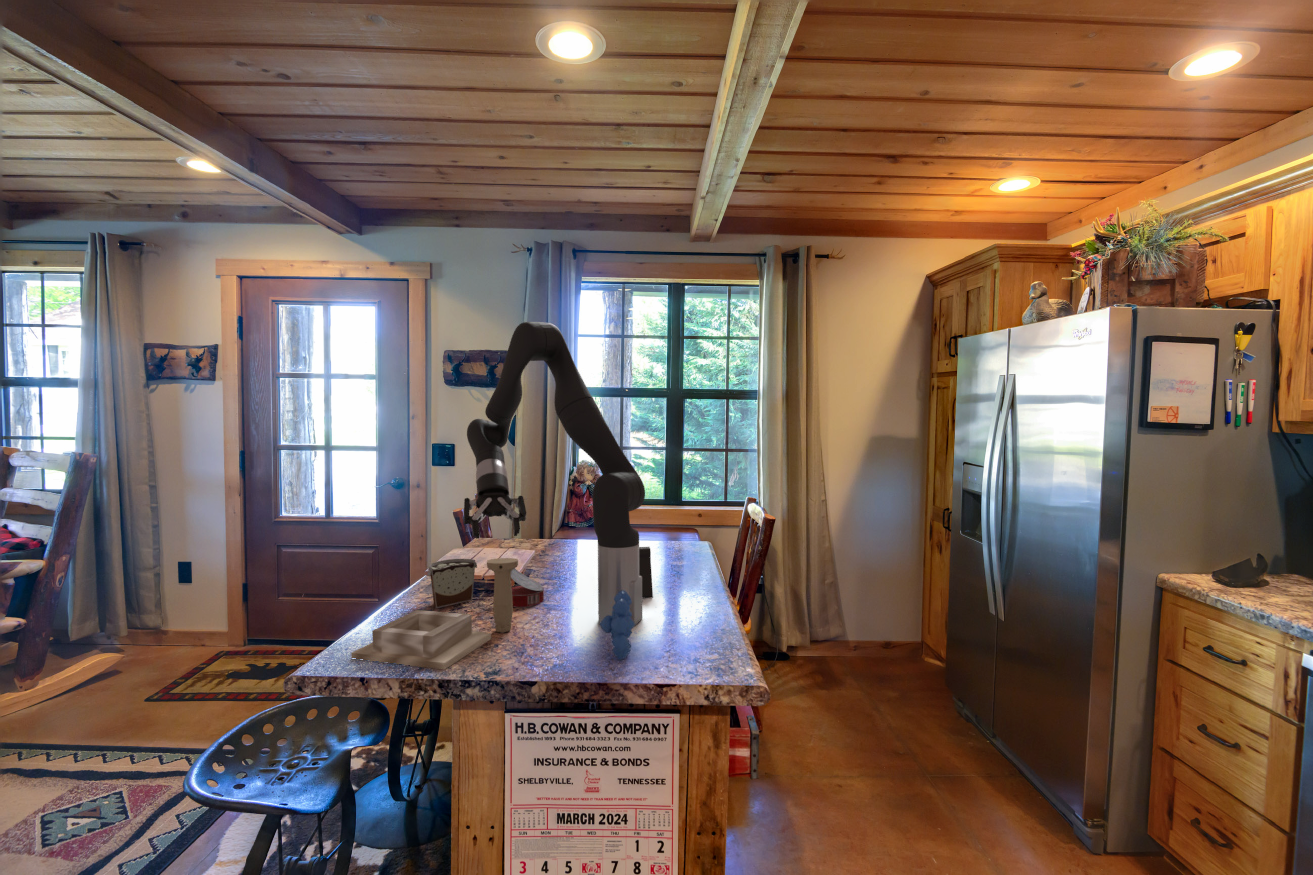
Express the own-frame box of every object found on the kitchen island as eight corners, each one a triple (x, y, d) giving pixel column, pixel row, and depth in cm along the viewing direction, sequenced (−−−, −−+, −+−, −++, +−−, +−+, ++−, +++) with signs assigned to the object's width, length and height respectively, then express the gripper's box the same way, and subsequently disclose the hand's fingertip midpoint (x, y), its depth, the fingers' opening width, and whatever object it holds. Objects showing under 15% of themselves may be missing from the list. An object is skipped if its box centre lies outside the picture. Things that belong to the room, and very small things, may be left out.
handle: (517, 633, 126) (516, 562, 126) (485, 635, 125) (484, 563, 125) (520, 626, 131) (519, 557, 130) (489, 627, 130) (489, 558, 130)
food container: (466, 594, 156) (465, 555, 156) (477, 598, 152) (477, 559, 152) (419, 604, 147) (418, 563, 147) (430, 609, 143) (429, 567, 143)
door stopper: (652, 597, 152) (652, 550, 152) (629, 599, 151) (629, 551, 151) (647, 588, 161) (647, 543, 160) (625, 589, 160) (624, 544, 159)
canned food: (520, 613, 155) (531, 575, 159) (547, 616, 149) (558, 576, 153) (487, 602, 147) (499, 562, 151) (514, 605, 141) (526, 563, 145)
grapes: (603, 643, 120) (602, 584, 120) (636, 643, 120) (636, 584, 120) (595, 667, 108) (595, 601, 108) (633, 667, 108) (632, 601, 108)
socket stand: (491, 638, 123) (490, 613, 123) (444, 669, 108) (444, 640, 108) (407, 630, 128) (407, 606, 128) (351, 659, 113) (350, 631, 113)
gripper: (462, 472, 144) (464, 527, 133) (522, 470, 149) (529, 523, 138) (461, 492, 149) (464, 546, 138) (520, 489, 154) (526, 542, 143)
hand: (497, 535), depth 138 cm, fingers open, 8 cm apart
